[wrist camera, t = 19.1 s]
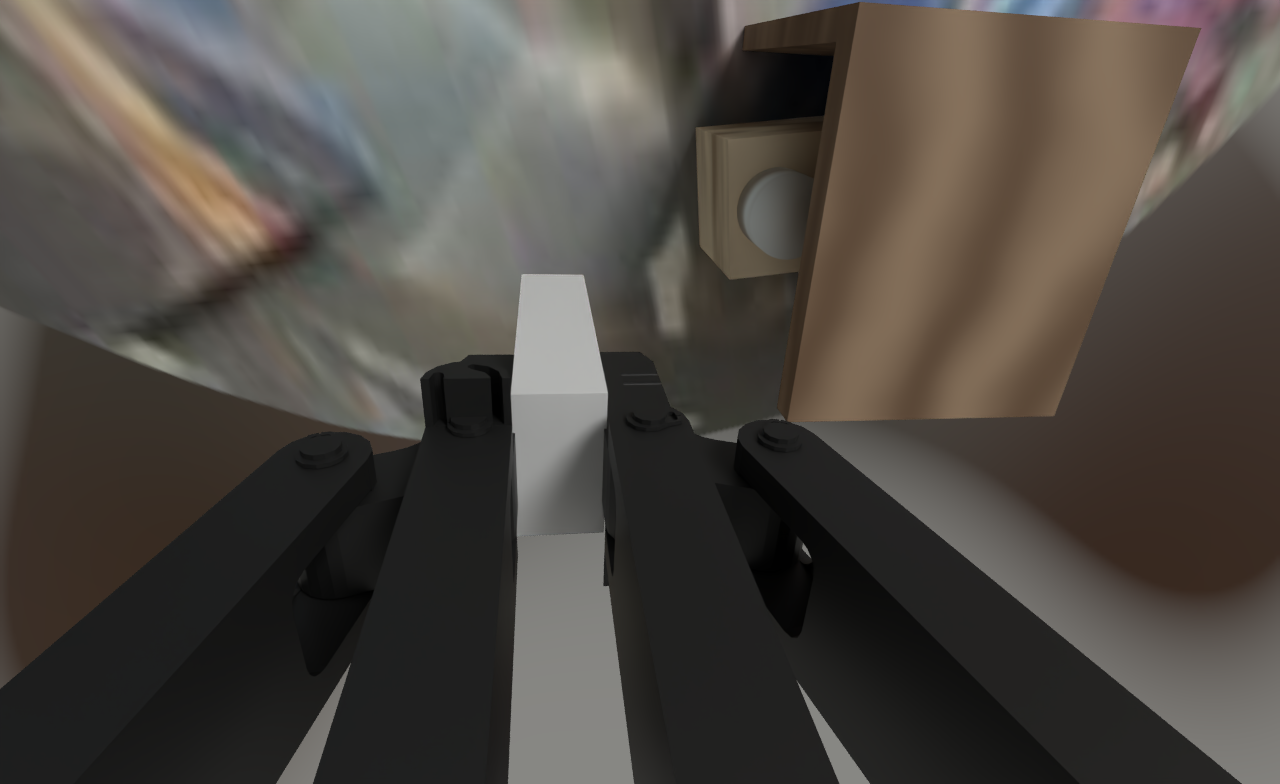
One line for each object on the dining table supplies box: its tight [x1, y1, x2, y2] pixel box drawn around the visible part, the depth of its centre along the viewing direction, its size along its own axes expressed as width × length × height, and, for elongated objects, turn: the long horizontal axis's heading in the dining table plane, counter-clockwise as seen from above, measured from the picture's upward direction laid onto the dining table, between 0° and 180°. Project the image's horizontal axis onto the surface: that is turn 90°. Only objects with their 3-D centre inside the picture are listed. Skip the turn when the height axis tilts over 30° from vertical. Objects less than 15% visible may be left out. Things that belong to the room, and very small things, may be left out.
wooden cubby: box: [742, 2, 1201, 422], centre depth 34 cm, size 14×17×14 cm
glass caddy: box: [696, 116, 824, 280], centre depth 35 cm, size 10×7×10 cm
